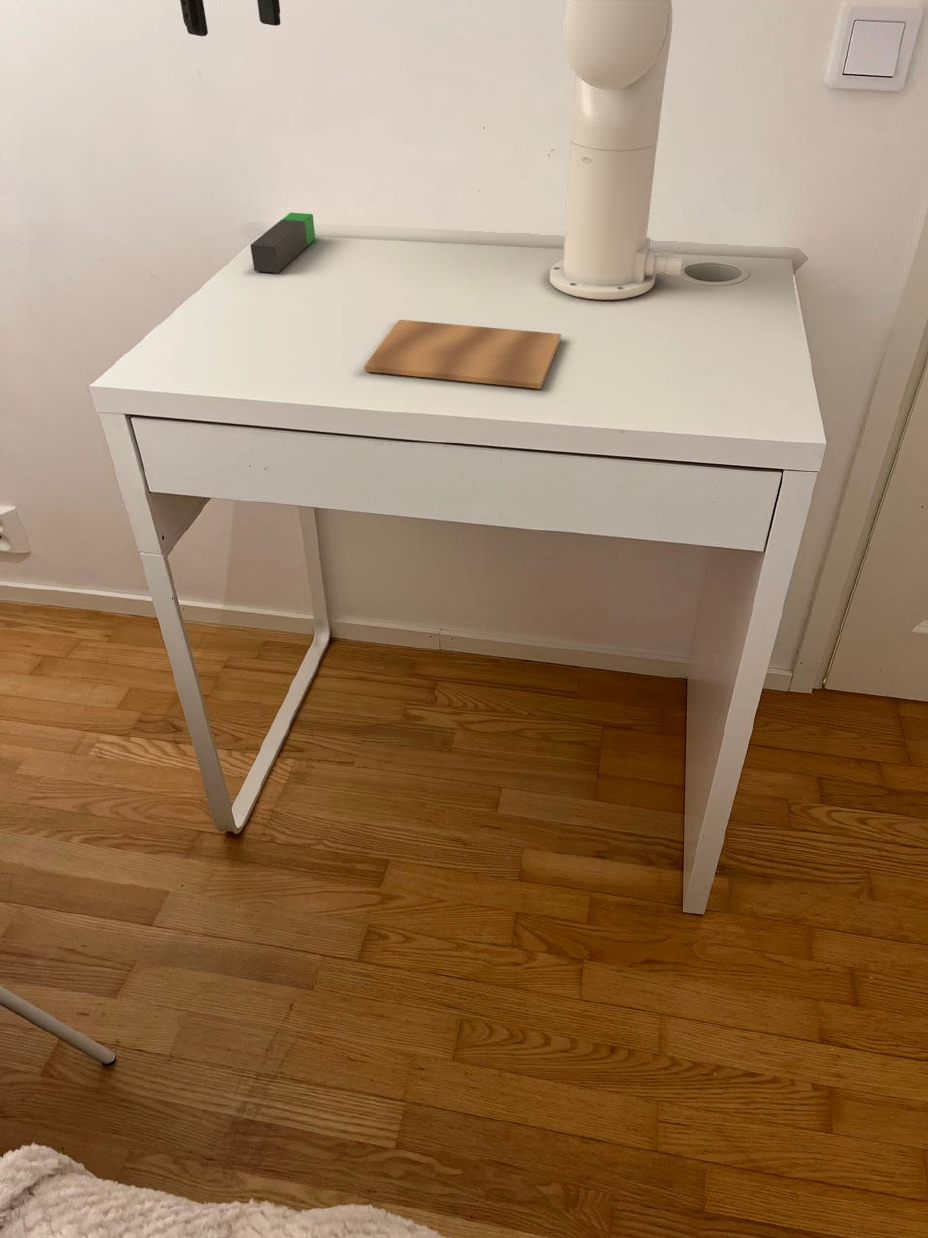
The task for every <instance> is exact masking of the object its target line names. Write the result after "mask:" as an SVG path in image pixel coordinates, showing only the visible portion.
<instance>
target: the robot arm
mask: <svg viewBox="0 0 928 1238" xmlns="http://www.w3.org/2000/svg"><path fill="white" fill-rule="evenodd" d="M256 1H257V2H256V3H257V8H258V17H259V21H260V23H261V24H263V25H269V26H275V27H276V26H281V16H280V14H281V7H280V6H281V5H280V0H256ZM179 2H180V7H181V12H182V13H181V15H182V19H183V23H184V26H185V27H186V31H187V33H188V34H189V35H193V36H198V37H207V35H208V33H209V30H208V24H207V23H208V22H207V18H206V17H207V16H206V12H205V6H204V5H205V4H204V0H179ZM673 15H674V14H673V3H672V0H566V5H565V13H564V18H563V19H564V20H563V25H562V26H563V29H562V30H563V31H562V42H563V48H564V52H565V55H566V58H567V61H568V63H569V65H570V67H571V69H572V70H573V72H574V73H575V75H574V83H573V84H574V85H573V95H572V108H571V120H570V121H571V122H570V139H569V155H568V171H567V172H568V173H567V192H566V207H565V208H566V209H565V225H564V227H565V228H564V245H563V259H561V260H559V261H556V262H555V263H554V264H553V265H552V266H551V267H550V270H549V282H550V284H551V285H552V287H554V288H555V289H557V290H558V291H559V292H562V293H564V294H567V295H569V296H573V297H578V298H583V299H590V300H600V301H603V300H605V301H610V300H613V301H614V300H625V299H628V298H634V297H637V296H640V295H643V294H645V293H647V292H648V291H650V290H651V289H652V288H653V287H654V286H655V283H656V274H665V275H669V276H682V270H683V264H684V263H683V262H684V257H675V252H671V251H655V248H651V237H648V227H649V220H650V219H649V218H650V211H651V201H652V191H653V183H654V175H655V174H654V173H655V167H656V166H655V164H656V156H657V145H658V141H659V132H660V123H661V113H662V107H663V105H662V104H663V97H664V89H665V84H666V83H665V82H666V76H667V75H666V74H667V69H668V60H669V54H670V48H671V47H670V46H671V39H672V33H673V32H672V31H673Z"/></svg>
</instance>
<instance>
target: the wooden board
mask: <svg viewBox="0 0 928 1238" xmlns="http://www.w3.org/2000/svg"><path fill="white" fill-rule="evenodd" d="M561 339H562V333H556V332H545V331H531V330H522V329H521V330H520V329H509V328H500V327H499V328H498V327H487V326H478V325H477V326H476V325H464V324H454V323H444V322H443V323H442V322H434V321H433V322H432V321H431V322H430V321H420V320H409V319H399V320H398V321H397V322H396V323H395V324H394V325H393V327H392V328H391V330H390V331H389V333H388V334H387V336H385V338H384V339H383V340H382V342H381V343H380V344H379V346H378V347H377V348H376V350H375V351H374V353H373V354H372V355H371V357H370V358H369V359H368V360H367V362H366V363H365V365H364V371H365V372H369V373H370V372H371V373H380V374H391V375H401V376H408V377H409V376H410V377H411V376H412V377H420V378H430V379H431V378H432V379H439V380H440V379H441V380H449V381H451V380H452V381H460V382H469V383H479V384H480V383H482V384H489V385H500V386H511V387H519V388H530V389H539V390H540V389H541V388H542V386H543V383H544V381H545V378H546V377H547V374H548V372H549V370H550V369H549V368H550V366H551V363H552V361H553V359H554V356H555V354H556V352H557V349H558V346H559V344H560V341H561Z"/></svg>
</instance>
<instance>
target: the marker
mask: <svg viewBox="0 0 928 1238" xmlns="http://www.w3.org/2000/svg"><path fill="white" fill-rule="evenodd" d="M314 222H315V221H314V214H313V213H303V212H289V213H288V214H287V215H286V216H284V217H283V218H282V219H280V220H279V221H278V222H276V223H275V224H274V225H273V226H272V227H270V228H269V229H268V230H266V231H265V232H264V233H263V234H262V235H260V236H259V237H258V238H257V239H255V240H254V241H253V242H252V243H250V251H251V252H250V253H251V259H252V265H253V271H254V272H264V273H274V274H275V273H277V274H278V273H279V272H281V271H282V270H283V269H284V268H285V267H286V266H287V265H289V263H290V262H292V261H293V260H294V259H295V258H296V257H297V256H299V254H300V253H302V252H303V251H304V250H305V249H306V248H307V247H308V246H309V245H310V244H311V243H313V242H314V241H315V239H316V230H315V223H314Z"/></svg>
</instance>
